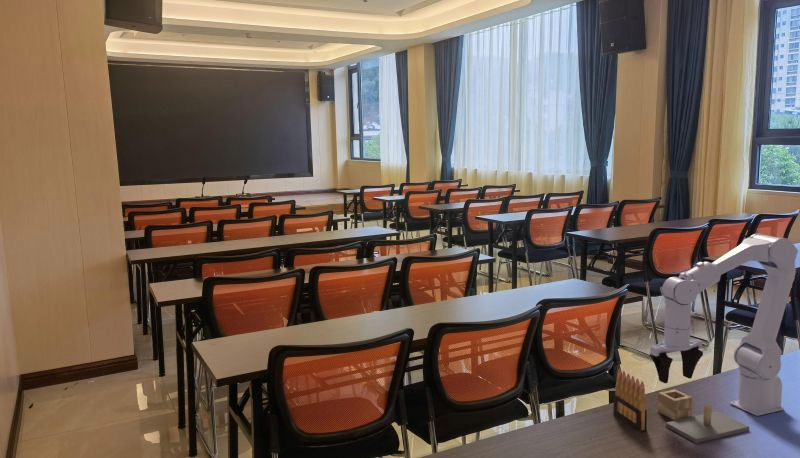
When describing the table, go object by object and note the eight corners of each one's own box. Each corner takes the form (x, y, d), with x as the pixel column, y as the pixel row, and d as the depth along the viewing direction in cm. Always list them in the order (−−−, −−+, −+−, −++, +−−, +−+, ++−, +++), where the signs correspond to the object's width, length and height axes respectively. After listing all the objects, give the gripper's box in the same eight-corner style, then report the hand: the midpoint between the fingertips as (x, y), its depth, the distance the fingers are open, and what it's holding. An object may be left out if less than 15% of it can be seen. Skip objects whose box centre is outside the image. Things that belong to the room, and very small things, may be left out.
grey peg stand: (716, 415, 148) (717, 392, 147) (748, 430, 139) (750, 406, 139) (665, 426, 142) (666, 403, 142) (696, 443, 134) (697, 418, 133)
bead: (674, 408, 152) (675, 389, 152) (691, 416, 147) (692, 397, 147) (657, 411, 151) (658, 392, 150) (674, 420, 146) (674, 400, 145)
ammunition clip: (646, 430, 141) (648, 382, 139) (640, 431, 140) (641, 383, 139) (619, 412, 151) (620, 366, 149) (613, 413, 151) (613, 367, 149)
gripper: (687, 318, 152) (685, 369, 154) (641, 325, 147) (640, 378, 149) (710, 326, 146) (707, 379, 147) (663, 333, 141) (661, 388, 143)
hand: (675, 379), depth 148 cm, fingers open, 7 cm apart
